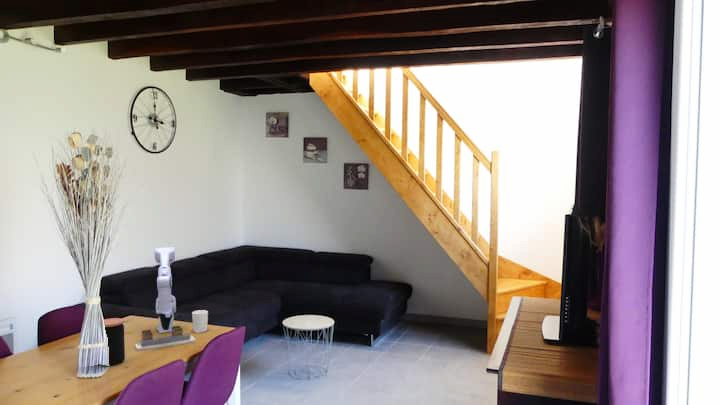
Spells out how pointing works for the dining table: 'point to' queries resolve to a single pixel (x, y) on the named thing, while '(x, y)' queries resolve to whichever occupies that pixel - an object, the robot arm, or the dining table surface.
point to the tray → (139, 348)
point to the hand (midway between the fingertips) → (165, 328)
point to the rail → (165, 340)
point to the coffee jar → (115, 340)
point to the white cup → (200, 321)
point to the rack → (149, 335)
